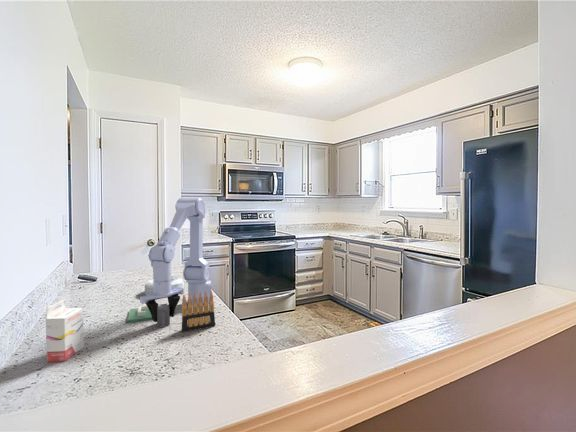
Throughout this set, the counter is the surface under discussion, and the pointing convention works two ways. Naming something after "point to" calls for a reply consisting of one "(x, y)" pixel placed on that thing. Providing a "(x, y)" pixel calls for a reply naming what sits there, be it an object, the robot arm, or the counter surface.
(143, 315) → the board
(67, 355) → the ink cartridge box
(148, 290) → the cable
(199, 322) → the ammunition clip
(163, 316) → the plug
